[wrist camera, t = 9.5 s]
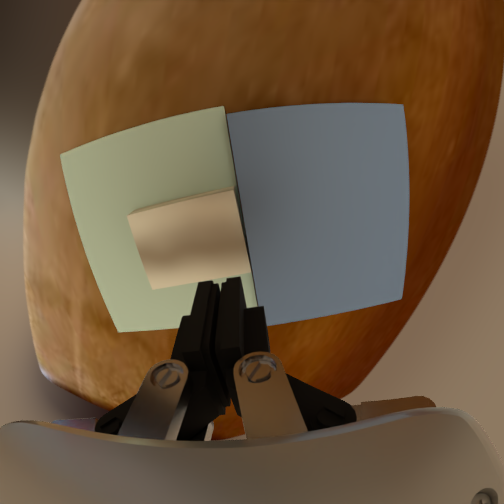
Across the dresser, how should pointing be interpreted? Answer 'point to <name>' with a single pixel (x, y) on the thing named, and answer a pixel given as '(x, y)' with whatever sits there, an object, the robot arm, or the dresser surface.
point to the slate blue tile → (323, 205)
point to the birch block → (191, 238)
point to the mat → (141, 195)
